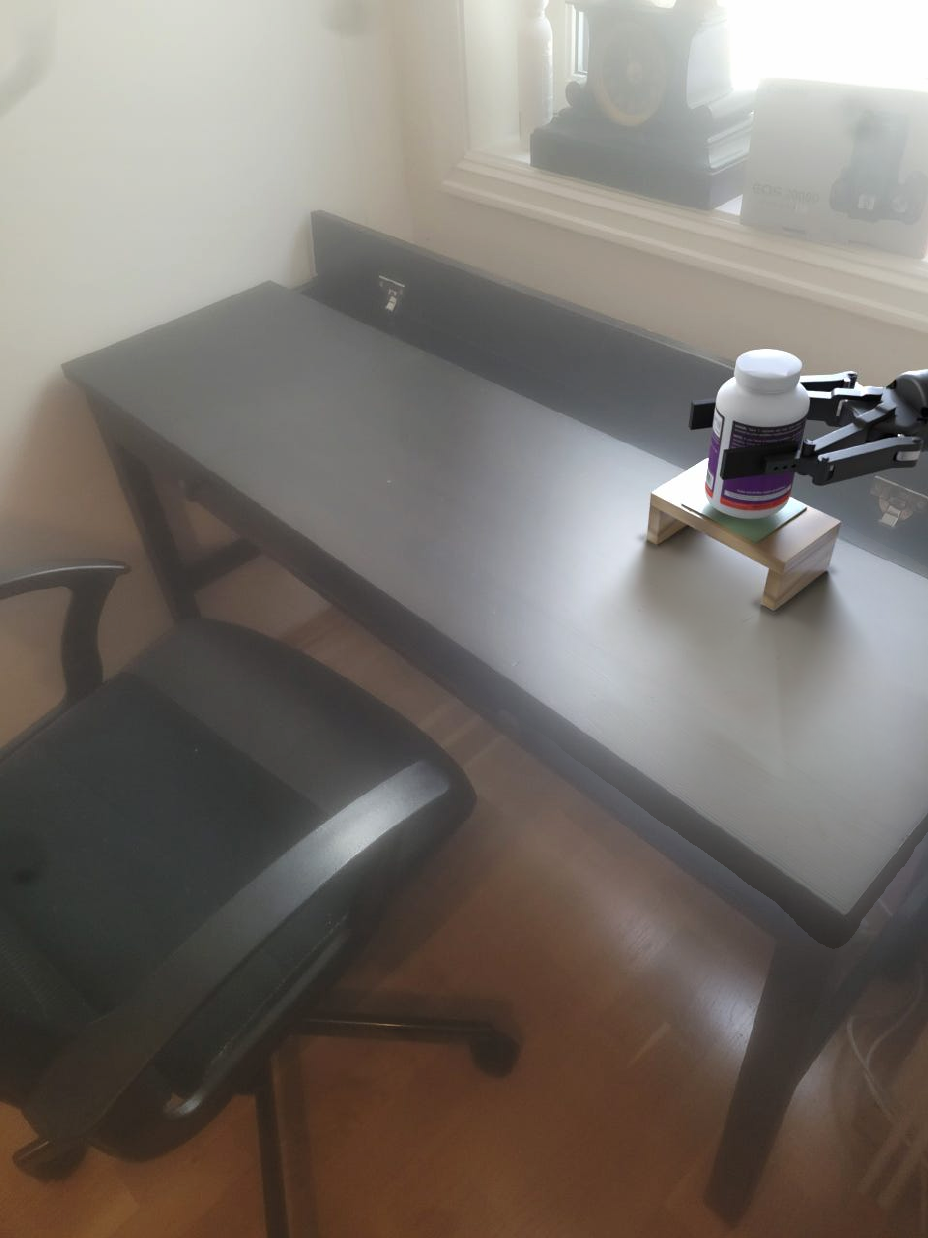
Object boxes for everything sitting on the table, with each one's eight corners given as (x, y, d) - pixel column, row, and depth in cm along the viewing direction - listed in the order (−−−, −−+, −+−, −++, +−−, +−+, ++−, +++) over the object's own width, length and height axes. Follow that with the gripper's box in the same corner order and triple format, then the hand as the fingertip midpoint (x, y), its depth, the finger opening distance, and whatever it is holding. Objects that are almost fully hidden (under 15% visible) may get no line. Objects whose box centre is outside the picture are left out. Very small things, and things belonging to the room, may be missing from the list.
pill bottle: (805, 503, 84) (839, 365, 74) (745, 534, 81) (772, 395, 71) (743, 467, 89) (767, 333, 79) (685, 495, 86) (702, 360, 76)
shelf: (828, 569, 87) (842, 519, 82) (773, 611, 83) (785, 561, 79) (700, 503, 96) (707, 456, 92) (646, 538, 92) (650, 490, 88)
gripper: (994, 505, 76) (741, 539, 74) (879, 391, 91) (668, 418, 90) (1026, 429, 70) (755, 465, 69) (899, 322, 86) (675, 350, 85)
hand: (706, 439), depth 80 cm, fingers closed on pill bottle, 8 cm apart
